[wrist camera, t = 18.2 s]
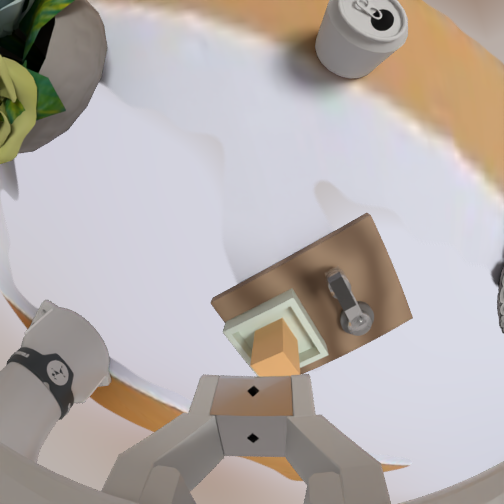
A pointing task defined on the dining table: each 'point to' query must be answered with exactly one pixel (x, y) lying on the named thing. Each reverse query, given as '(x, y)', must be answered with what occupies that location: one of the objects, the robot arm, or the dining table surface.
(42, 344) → the robot arm
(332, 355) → the mechanism board
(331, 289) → the crank
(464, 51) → the dining table surface
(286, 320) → the tray
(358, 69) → the can
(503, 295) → the brain slice
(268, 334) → the block
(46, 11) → the flower arrangement
